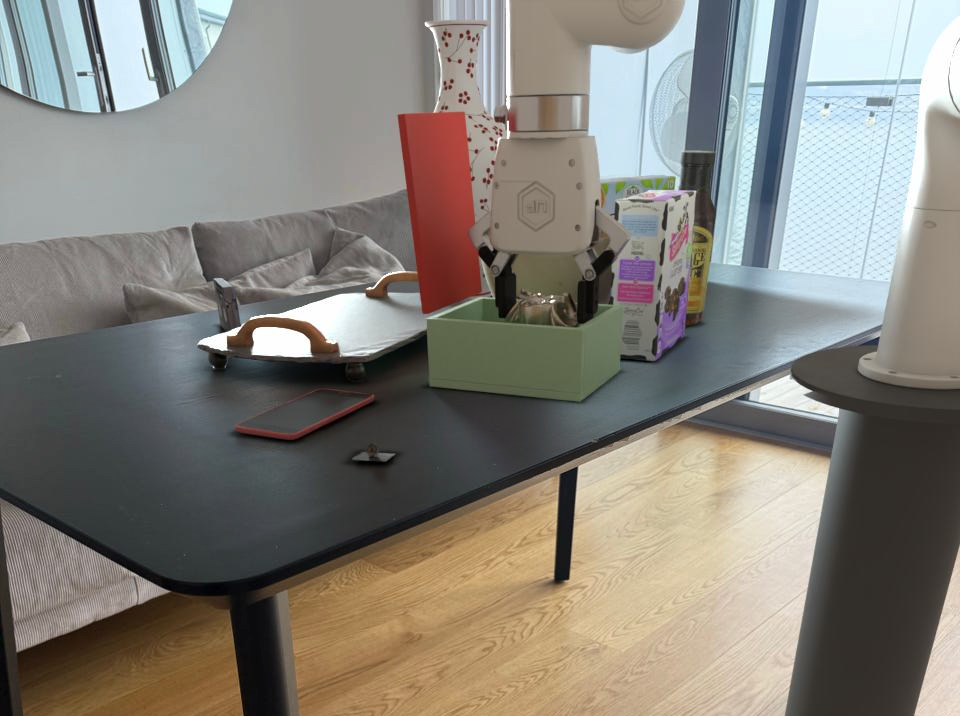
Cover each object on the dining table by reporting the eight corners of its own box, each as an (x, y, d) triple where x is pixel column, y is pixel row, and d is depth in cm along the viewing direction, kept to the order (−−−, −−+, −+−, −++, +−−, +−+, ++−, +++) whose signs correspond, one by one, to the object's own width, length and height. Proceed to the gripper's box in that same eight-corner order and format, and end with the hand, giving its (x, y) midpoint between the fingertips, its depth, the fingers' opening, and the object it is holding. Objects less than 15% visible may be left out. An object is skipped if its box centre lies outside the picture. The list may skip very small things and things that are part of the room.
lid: (465, 111, 92) (458, 112, 92) (404, 113, 82) (396, 114, 83) (482, 292, 100) (475, 292, 101) (429, 313, 90) (422, 314, 91)
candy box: (656, 363, 101) (668, 198, 92) (605, 359, 103) (612, 198, 94) (686, 337, 111) (699, 187, 103) (639, 334, 113) (648, 187, 105)
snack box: (584, 291, 140) (588, 182, 132) (558, 287, 144) (560, 181, 136) (669, 274, 152) (677, 173, 144) (643, 271, 156) (649, 172, 148)
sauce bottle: (650, 326, 117) (662, 152, 107) (658, 317, 122) (670, 149, 112) (702, 328, 115) (719, 151, 105) (707, 319, 120) (724, 149, 110)
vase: (522, 286, 146) (522, 23, 128) (511, 304, 132) (509, 14, 114) (424, 286, 148) (410, 28, 130) (403, 304, 134) (385, 19, 116)
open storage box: (619, 371, 98) (623, 305, 94) (580, 402, 88) (582, 329, 85) (480, 359, 104) (479, 296, 101) (429, 386, 94) (426, 318, 91)
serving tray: (355, 310, 131) (350, 264, 128) (502, 319, 123) (501, 270, 120) (178, 374, 101) (167, 316, 98) (359, 392, 93) (353, 329, 90)
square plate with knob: (362, 452, 77) (361, 437, 76) (395, 454, 76) (395, 439, 76) (350, 460, 74) (350, 445, 74) (385, 462, 74) (384, 447, 73)
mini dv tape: (242, 335, 118) (234, 286, 115) (230, 336, 118) (222, 287, 115) (231, 323, 125) (224, 277, 122) (220, 324, 125) (213, 278, 121)
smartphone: (378, 394, 89) (293, 435, 79) (379, 400, 90) (294, 441, 79) (319, 387, 92) (230, 426, 81) (320, 393, 92) (231, 432, 82)
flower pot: (579, 359, 103) (583, 243, 97) (451, 341, 112) (447, 235, 106) (649, 329, 116) (656, 225, 109) (529, 316, 125) (530, 219, 119)
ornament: (595, 325, 93) (597, 287, 91) (562, 338, 88) (563, 299, 86) (529, 318, 97) (529, 282, 95) (494, 330, 92) (493, 292, 90)
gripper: (445, 122, 84) (452, 320, 92) (627, 118, 77) (616, 331, 86) (479, 120, 89) (483, 306, 98) (651, 116, 83) (639, 316, 92)
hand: (545, 317), depth 92 cm, fingers closed on ornament, 8 cm apart
